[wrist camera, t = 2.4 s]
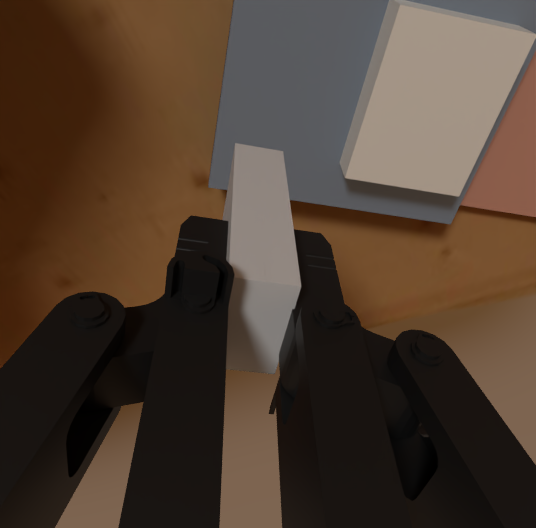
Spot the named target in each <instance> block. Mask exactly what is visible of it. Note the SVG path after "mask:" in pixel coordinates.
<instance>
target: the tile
mask: <svg viewBox="0 0 536 528" xmlns="http://www.w3.org/2000/svg"><path fill="white" fill-rule="evenodd" d="M535 38H536V34H535V33H533V32H531V31H529V30H527V29H525V28H523V27H521V26H519V25H515V24H510V23H505V22H501V21H496V20H492V19H487V18H483V17H478V16H474V15H469V14H465V13H460V12H456V11H451V10H447V9H442V8H438V7H433V6H429V5H424V4H420V3H415V2H411V1H406V0H389V2H388V5H387V9H386V12H385V15H384V19H383V22H382V25H381V28H380V32H379V35H378V38H377V41H376V45H375V48H374V51H373V55H372V58H371V61H370V64H369V68H368V71H367V74H366V77H365V81H364V84H363V87H362V90H361V94H360V97H359V100H358V104H357V107H356V110H355V113H354V117H353V120H352V123H351V126H350V130H349V133H348V136H347V140H346V143H345V146H344V149H343V153H342V156H341V159H340V162H339V163H340V165H341V168H342V171H343V174H344V177H345V178H347V179H353V180H360V181H366V182H372V183H378V184H384V185H390V186H397V187H403V188H409V189H415V190H421V191H427V192H433V193H440V194H446V195H452V196H458V197H459V196H460V194H461V191H462V189H463V187H464V185H465V183H466V181H467V179H468V177H469V175H470V173H471V171H472V169H473V167H474V165H475V163H476V160H477V158H478V156H479V154H480V152H481V150H482V148H483V146H484V144H485V142H486V140H487V138H488V136H489V134H490V131H491V129H492V127H493V125H494V123H495V121H496V119H497V117H498V115H499V113H500V111H501V109H502V107H503V105H504V103H505V100H506V98H507V96H508V94H509V92H510V90H511V88H512V86H513V84H514V82H515V80H516V78H517V76H518V74H519V72H520V69H521V67H522V65H523V63H524V61H525V59H526V57H527V55H528V53H529V51H530V49H531V47H532V45H533V43H534V40H535Z"/></svg>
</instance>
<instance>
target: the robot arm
mask: <svg viewBox="0 0 536 528" xmlns="http://www.w3.org/2000/svg"><path fill="white" fill-rule="evenodd" d="M333 258H334V257H333V253H332V248H331V245H330V244H329V243H328V241H327V240H326V239H325V238H324V237H323V235H322V234H321V233H315V232H308V231H301V230H294V228H293V221H292V214H291V206H290V199H289V191H288V184H287V177H286V169H285V162H284V154H283V151H279V150H273V149H267V148H261V147H255V146H249V145H244V144H238V143H235V147H234V153H233V159H232V165H231V171H230V178H229V184H228V190H227V196H226V202H225V208H224V214H223V220H218V219H211V218H204V217H198V216H190V217H189V218H188V219H187V220H186V221H185V222H184V223H183V224H182V225H181V228H180V233H179V238H178V243H177V248H176V253H175V257H173V258H172V259H171V261H170V262H169V264H168V266H167V276H166V286H165V294H164V295H163V296H162V297H161V298H159V299H158V300H156V301H154V302H152V303H149V304H147V305H141V306H136V307H127V308H124V306H123V305H122V304H121V303H120V302H119V301H118V300H117V299H116V298H114V297H112V296H110V295H108V294H105V293H98V292H83V293H77V294H74V295H72V296H69V297H66V298H65V299H64V300H62V301H61V302H60V303H58V304H57V305H56V306H55V307H54V308H53V310H52V311H51V312H50V313H49V314H48V315H47V316H46V318H45V319H44V320H43V321H42V322H41V323H40V324H39V326H38V327H37V328H36V329H35V330H34V331H33V332H32V334H31V335H30V336H29V337H28V338H27V339H26V340H25V342H24V343H23V344H22V345H21V346H20V347H19V348H18V350H17V351H16V352H15V353H14V354H13V355H12V356H11V358H10V359H9V360H8V361H7V362H6V363H5V364H4V366H3V367H2V368H1V369H0V528H55V526H56V524H57V523H58V521H59V519H60V517H61V515H62V513H63V512H64V509H65V508H66V506H67V504H68V503H69V501H70V499H71V497H72V496H73V494H74V492H75V490H76V488H77V487H78V485H79V483H80V481H81V479H82V478H83V476H84V474H85V472H86V470H87V469H88V467H89V465H90V463H91V461H92V460H93V458H94V456H95V454H96V452H97V451H98V449H99V447H100V445H101V444H102V442H103V440H104V438H105V436H106V434H107V433H108V431H109V429H110V427H111V426H112V424H113V422H114V420H115V418H116V417H117V415H118V413H119V411H120V408H121V406H123V405H129V404H134V403H140V402H144V403H143V408H142V413H141V418H140V423H139V428H138V433H137V438H136V443H135V448H134V453H133V458H132V463H131V468H130V473H129V478H128V483H127V488H126V493H125V498H124V503H123V508H122V513H121V518H120V523H119V528H219V522H220V520H219V519H220V498H221V497H220V496H221V474H222V448H223V426H224V402H225V401H224V400H225V378H226V369H230V370H239V371H249V372H258V373H268V374H275V371H276V368H277V365H278V361H279V367H280V378H279V380H278V383H277V387H276V390H275V393H274V396H273V399H272V402H271V406H270V411H269V414H274V411H275V408H276V413H277V432H278V453H279V472H280V491H281V510H282V528H536V465H535V464H534V462H533V461H532V459H531V458H530V457H529V455H528V454H527V453H526V451H525V450H524V449H523V447H522V446H521V444H520V443H519V442H518V440H517V439H516V437H515V436H514V435H513V433H512V432H511V430H510V429H509V428H508V426H507V425H506V424H505V422H504V421H503V419H502V418H501V417H500V415H499V414H498V412H497V411H496V410H495V408H494V407H493V405H492V404H491V403H490V401H489V400H488V399H487V397H486V396H485V394H484V393H483V392H482V390H481V389H480V387H479V386H478V385H477V384H476V382H475V381H474V379H473V378H472V376H471V375H470V374H469V372H468V371H467V369H466V368H465V367H464V365H463V364H462V363H461V361H460V360H459V358H458V357H457V356H456V354H455V353H454V352H453V350H452V349H451V348H450V347H449V346H448V345H447V344H446V343H445V342H444V341H443V340H441V339H440V338H438V337H436V336H435V335H433V334H430V333H428V332H424V331H421V330H408V331H404V332H402V333H401V334H400V335H399V336H398V337H397V338H396V340H395V341H393V340H391V339H388V338H386V337H383V336H380V335H377V334H375V333H372V332H370V331H368V330H366V329H364V328H363V327H361V324H360V321H359V319H358V317H357V315H356V313H355V312H354V311H353V310H352V309H351V308H349V307H348V306H347V305H345V304H344V300H343V295H342V291H341V287H340V283H339V278H338V274H337V270H336V265H335V261H334V260H333Z"/></svg>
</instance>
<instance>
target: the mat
mask: <svg viewBox="0 0 536 528" xmlns="http://www.w3.org/2000/svg"><path fill="white" fill-rule="evenodd" d="M460 205H463V206H469V207H475V208H481V209H488V210H494V211H500V212H507V213H513V214H519V215H525V216H532V217H536V51H535V53H534V55H533V57H532V59H531V61H530V63H529V65H528V67H527V69H526V72H525V74H524V76H523V78H522V80H521V82H520V84H519V86H518V88H517V90H516V92H515V94H514V96H513V98H512V100H511V102H510V104H509V106H508V108H507V110H506V112H505V114H504V116H503V118H502V120H501V122H500V125H499V127H498V129H497V131H496V133H495V135H494V137H493V139H492V141H491V143H490V145H489V147H488V149H487V151H486V153H485V155H484V157H483V159H482V161H481V163H480V165H479V167H478V169H477V171H476V173H475V176H474V178H473V180H472V182H471V184H470V186H469V188H468V190H467V192H466V194H465V196H464V198H463V200H462V202H461V204H460Z"/></svg>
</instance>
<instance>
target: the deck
mask: <svg viewBox="0 0 536 528" xmlns="http://www.w3.org/2000/svg"><path fill="white" fill-rule="evenodd" d="M406 1H411V2H415V3H420V4H424V5H429V6H433V7H438V8H442V9H447V10H451V11H456V12H460V13H465V14H469V15H474V16H478V17H483V18H487V19H492V20H496V21H501V22H505V23H510V24H515V25H519V26H521V27H523V28H525V29H527V30H529V31H531V32H533V33H535V34H536V0H406ZM388 2H389V0H234V2H233V10H232V17H231V24H230V31H229V38H228V46H227V53H226V60H225V67H224V75H223V82H222V89H221V96H220V104H219V111H218V118H217V125H216V132H215V140H214V147H213V154H212V161H211V169H210V178H209V186H208V187H210V188H216V189H223V190H228V184H229V178H230V171H231V165H232V159H233V153H234V147H235V143H238V144H244V145H249V146H255V147H261V148H267V149H273V150H279V151H283V154H284V162H285V169H286V177H287V184H288V191H289V199H290V200H295V201H301V202H308V203H314V204H321V205H327V206H334V207H341V208H347V209H354V210H360V211H367V212H373V213H380V214H386V215H393V216H399V217H406V218H412V219H419V220H425V221H432V222H438V223H445V224H451V222H452V220H453V218H454V216H455V214H456V212H457V210H458V208H459V206H460V204H461V202H462V200H463V198H464V196H465V194H466V192H467V190H468V188H469V186H470V184H471V182H472V180H473V178H474V176H475V173H476V171H477V169H478V167H479V165H480V163H481V161H482V159H483V157H484V155H485V153H486V151H487V149H488V147H489V145H490V143H491V141H492V139H493V137H494V135H495V133H496V131H497V129H498V127H499V125H500V122H501V120H502V118H503V116H504V114H505V112H506V110H507V108H508V106H509V104H510V102H511V100H512V98H513V96H514V94H515V92H516V90H517V88H518V86H519V84H520V82H521V80H522V78H523V76H524V74H525V72H526V69H527V67H528V65H529V63H530V61H531V59H532V57H533V55H534V53H535V51H536V38H535V40H534V43H533V45H532V47H531V49H530V51H529V53H528V55H527V57H526V59H525V61H524V63H523V65H522V67H521V69H520V72H519V74H518V76H517V78H516V80H515V82H514V84H513V86H512V88H511V90H510V92H509V94H508V96H507V98H506V100H505V103H504V105H503V107H502V109H501V111H500V113H499V115H498V117H497V119H496V121H495V123H494V125H493V127H492V129H491V131H490V134H489V136H488V138H487V140H486V142H485V144H484V146H483V148H482V150H481V152H480V154H479V156H478V158H477V160H476V163H475V165H474V167H473V169H472V171H471V173H470V175H469V177H468V179H467V181H466V183H465V185H464V187H463V189H462V191H461V194H460V196H459V197H458V196H452V195H446V194H440V193H433V192H427V191H421V190H415V189H409V188H403V187H397V186H390V185H384V184H378V183H372V182H366V181H360V180H353V179H347V178H345V177H344V174H343V171H342V168H341V165H340V163H339V162H340V159H341V156H342V153H343V149H344V146H345V143H346V140H347V136H348V133H349V130H350V126H351V123H352V120H353V117H354V113H355V110H356V107H357V104H358V100H359V97H360V94H361V90H362V87H363V84H364V81H365V77H366V74H367V71H368V68H369V64H370V61H371V58H372V55H373V51H374V48H375V45H376V41H377V38H378V35H379V32H380V28H381V25H382V22H383V19H384V15H385V12H386V9H387V5H388Z"/></svg>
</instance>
